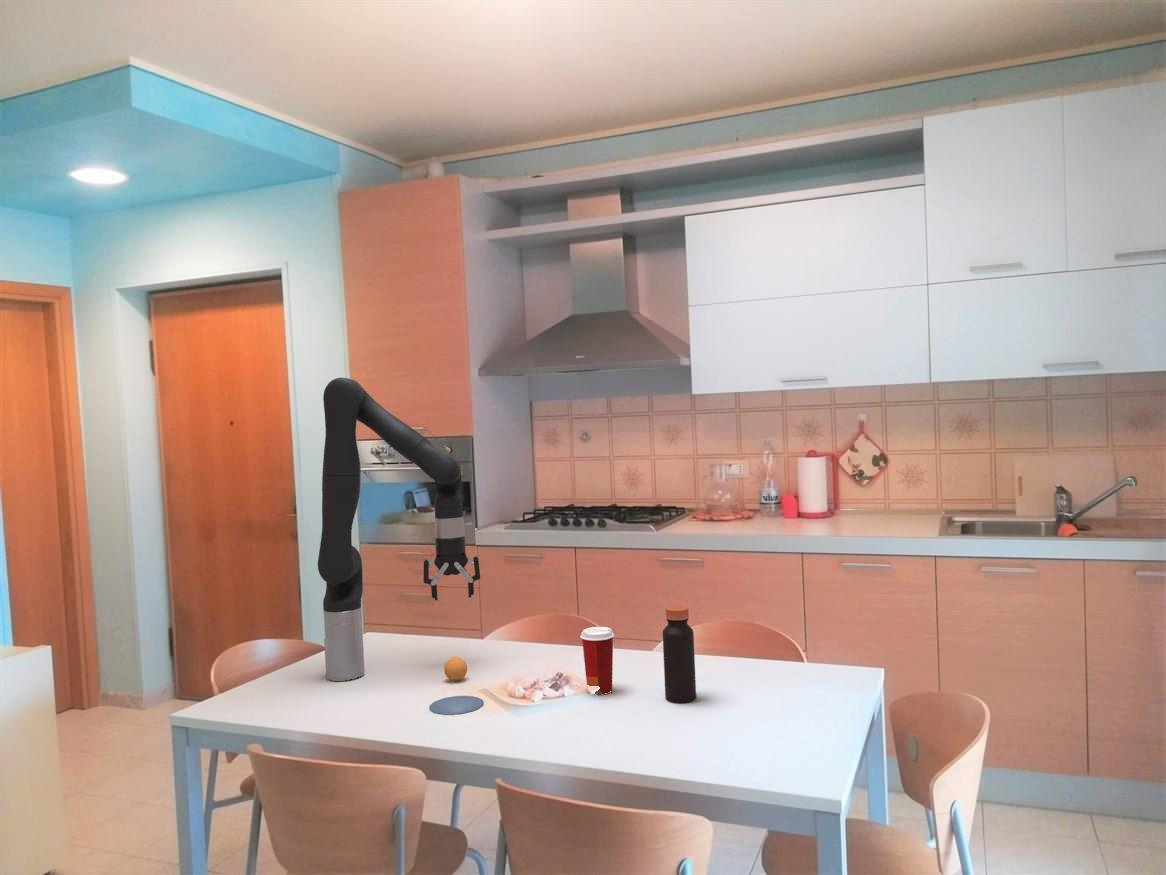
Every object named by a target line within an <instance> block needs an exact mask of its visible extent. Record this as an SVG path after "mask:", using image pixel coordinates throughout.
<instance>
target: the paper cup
mask: <svg viewBox="0 0 1166 875" xmlns="http://www.w3.org/2000/svg"><path fill="white" fill-rule="evenodd" d="M614 637H615V634H614V633H613V630H612V628H610V627H606V626H593V627H592V626H591V627H588V628H585V629H582V632H581V634H580V636H579V638H581V640H582V650H583V660H584V671H585V679H586V681H585V682H586V686H587V685H589V686H599V687H600V689H599V690H598V691H596V692H595V694H604V695H606V694H605V693H608V692H610V691H612V692H613V663H614V662H613V659H614V655H613V654H614ZM610 693H611V692H610ZM608 694H609V693H608Z"/></svg>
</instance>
